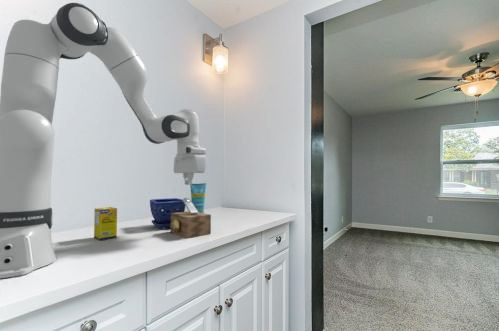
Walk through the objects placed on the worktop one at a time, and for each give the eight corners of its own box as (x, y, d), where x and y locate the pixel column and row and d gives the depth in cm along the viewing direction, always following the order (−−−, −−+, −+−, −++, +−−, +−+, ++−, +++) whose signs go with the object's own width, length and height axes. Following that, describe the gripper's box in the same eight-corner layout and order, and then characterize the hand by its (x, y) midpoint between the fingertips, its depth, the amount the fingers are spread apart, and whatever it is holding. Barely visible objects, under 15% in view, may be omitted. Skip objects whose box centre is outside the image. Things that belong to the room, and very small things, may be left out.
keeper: (190, 214, 98) (191, 212, 98) (181, 199, 104) (182, 198, 103) (197, 213, 100) (198, 212, 100) (188, 199, 106) (189, 197, 105)
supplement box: (117, 237, 93) (117, 207, 94) (98, 240, 89) (99, 209, 89) (111, 235, 97) (111, 206, 98) (93, 238, 93) (94, 208, 93)
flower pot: (186, 227, 113) (187, 200, 113) (155, 230, 105) (156, 201, 106) (177, 222, 124) (177, 197, 124) (148, 225, 116) (148, 199, 117)
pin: (177, 233, 95) (177, 220, 95) (172, 231, 98) (172, 219, 98) (208, 228, 104) (208, 216, 104) (202, 226, 107) (202, 215, 107)
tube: (191, 227, 112) (192, 183, 113) (188, 225, 116) (188, 183, 117) (207, 225, 116) (207, 183, 117) (203, 223, 120) (203, 183, 121)
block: (187, 238, 92) (187, 217, 93) (170, 231, 103) (170, 213, 103) (210, 233, 99) (210, 214, 99) (192, 228, 109) (192, 210, 110)
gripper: (169, 151, 109) (169, 184, 109) (194, 148, 94) (193, 185, 94) (183, 152, 113) (183, 183, 113) (208, 149, 98) (208, 185, 98)
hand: (188, 184), depth 103 cm, fingers closed
